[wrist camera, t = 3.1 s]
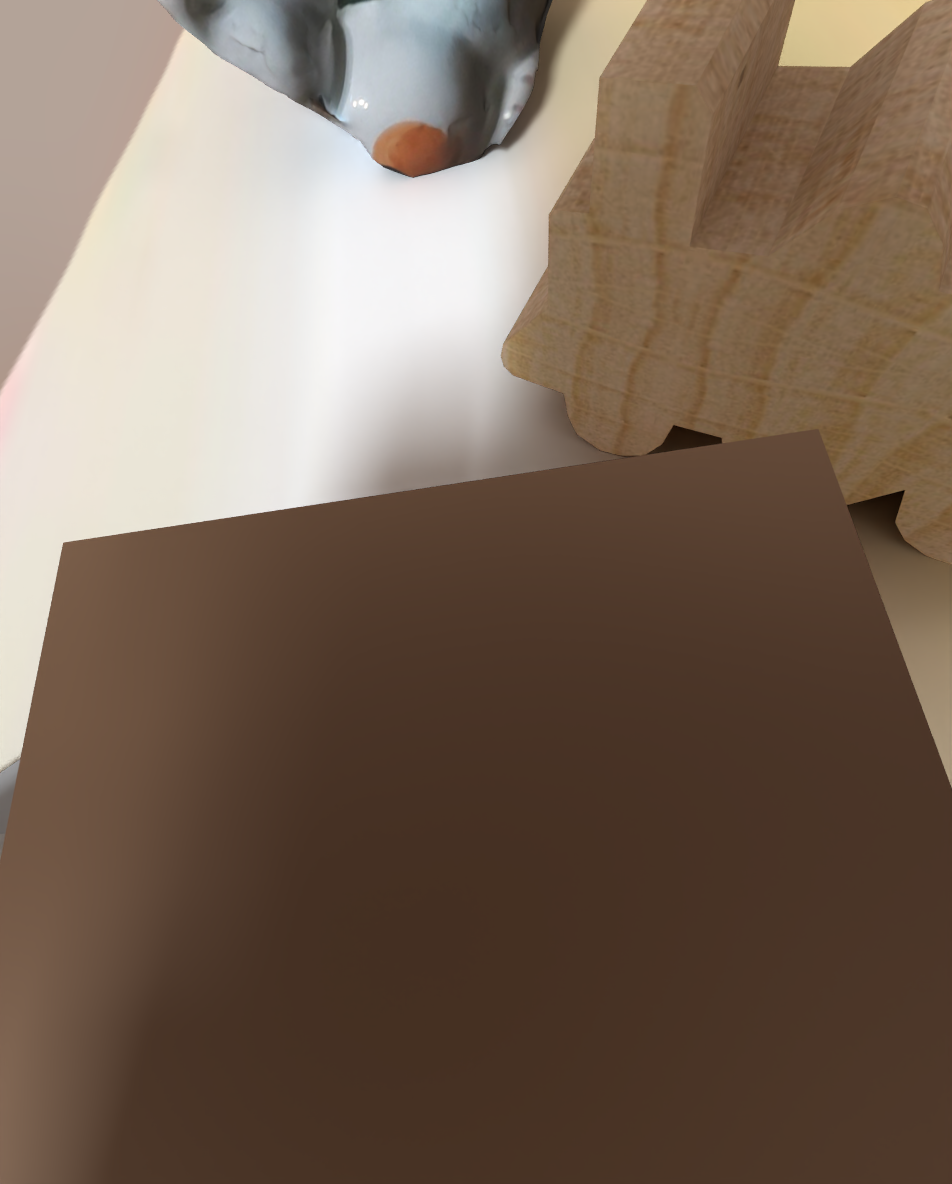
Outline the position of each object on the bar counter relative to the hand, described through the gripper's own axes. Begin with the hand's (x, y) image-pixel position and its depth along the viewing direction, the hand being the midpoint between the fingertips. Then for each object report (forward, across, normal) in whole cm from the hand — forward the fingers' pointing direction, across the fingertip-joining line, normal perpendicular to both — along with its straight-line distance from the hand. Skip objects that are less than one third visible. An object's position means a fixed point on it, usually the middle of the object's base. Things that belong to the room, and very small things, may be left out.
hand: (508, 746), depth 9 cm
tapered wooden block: (+4, 0, +6) cm, 7 cm away
